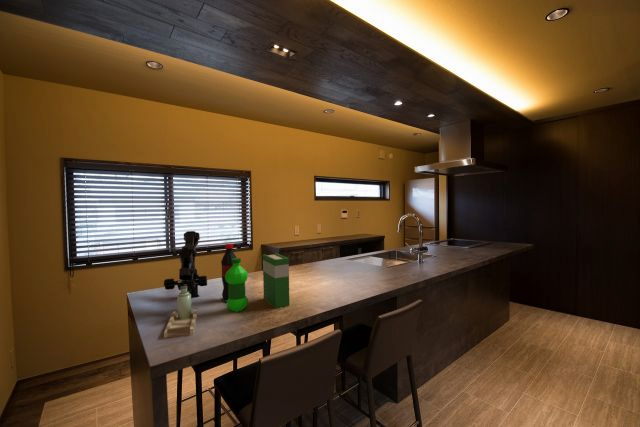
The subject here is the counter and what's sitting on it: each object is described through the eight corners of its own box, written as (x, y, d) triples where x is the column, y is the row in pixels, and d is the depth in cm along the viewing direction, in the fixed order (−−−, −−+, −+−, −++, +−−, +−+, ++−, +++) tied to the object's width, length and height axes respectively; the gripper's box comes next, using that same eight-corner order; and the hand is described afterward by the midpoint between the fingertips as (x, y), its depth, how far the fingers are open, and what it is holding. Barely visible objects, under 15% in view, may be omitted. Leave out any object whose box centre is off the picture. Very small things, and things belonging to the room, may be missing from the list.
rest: (173, 316, 134) (173, 308, 134) (198, 313, 138) (197, 306, 138) (164, 339, 112) (163, 330, 112) (193, 335, 115) (193, 326, 115)
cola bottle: (241, 297, 159) (240, 243, 158) (232, 302, 152) (231, 245, 150) (228, 296, 162) (227, 242, 161) (218, 301, 154) (217, 244, 153)
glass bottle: (189, 313, 136) (188, 283, 136) (193, 317, 132) (192, 286, 131) (176, 316, 133) (175, 286, 132) (180, 320, 128) (179, 289, 128)
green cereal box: (263, 298, 158) (262, 254, 157) (276, 296, 162) (275, 253, 161) (275, 308, 143) (274, 259, 142) (289, 305, 146) (288, 258, 145)
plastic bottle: (225, 308, 144) (223, 258, 143) (246, 305, 148) (245, 256, 147) (227, 315, 135) (225, 261, 134) (250, 311, 139) (249, 259, 138)
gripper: (163, 262, 137) (159, 292, 127) (206, 259, 143) (205, 287, 133) (167, 274, 145) (163, 304, 135) (207, 271, 151) (207, 299, 141)
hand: (185, 298), depth 136 cm, fingers closed
